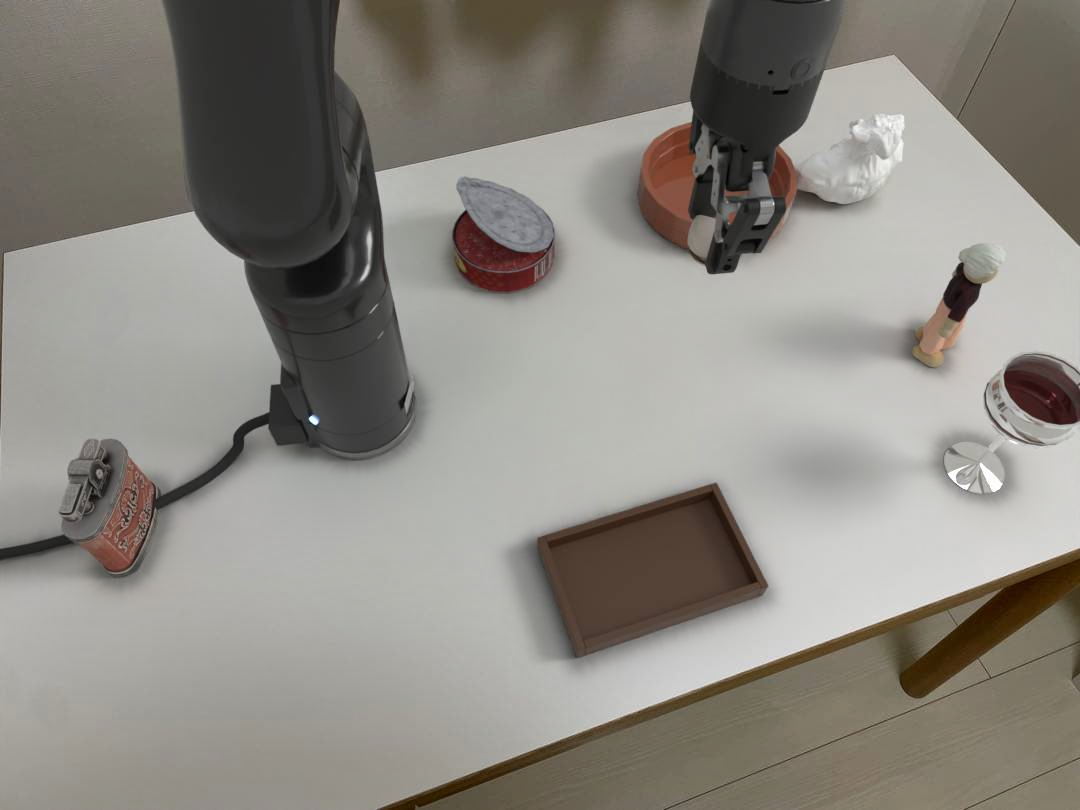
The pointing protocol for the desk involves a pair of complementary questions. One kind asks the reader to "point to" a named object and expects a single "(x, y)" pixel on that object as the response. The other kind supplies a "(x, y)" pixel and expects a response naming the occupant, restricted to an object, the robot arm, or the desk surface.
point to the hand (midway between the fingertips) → (710, 241)
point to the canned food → (501, 238)
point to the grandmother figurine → (957, 301)
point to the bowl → (692, 184)
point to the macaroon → (700, 238)
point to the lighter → (109, 506)
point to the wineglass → (1019, 416)
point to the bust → (855, 161)
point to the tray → (649, 568)
